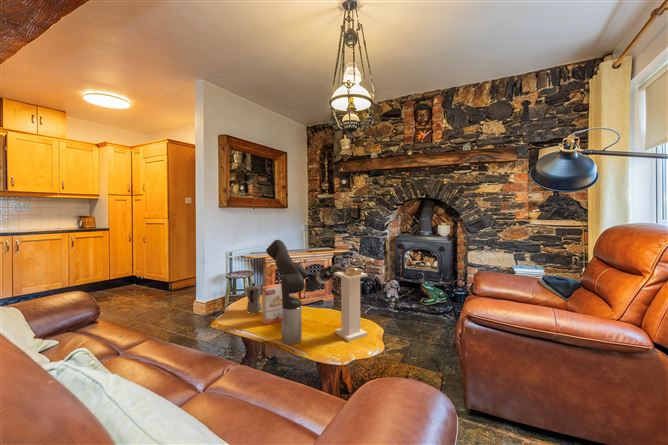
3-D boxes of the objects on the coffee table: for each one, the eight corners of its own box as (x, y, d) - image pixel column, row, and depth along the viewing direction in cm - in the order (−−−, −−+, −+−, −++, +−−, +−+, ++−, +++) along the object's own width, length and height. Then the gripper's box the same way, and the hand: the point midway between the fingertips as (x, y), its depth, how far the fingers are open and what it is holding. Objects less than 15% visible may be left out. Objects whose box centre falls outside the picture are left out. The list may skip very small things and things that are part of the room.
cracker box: (266, 325, 161) (265, 289, 159) (262, 322, 165) (261, 286, 164) (288, 319, 169) (288, 284, 167) (284, 316, 174) (283, 282, 172)
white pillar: (348, 341, 141) (348, 277, 139) (334, 332, 151) (334, 272, 149) (367, 335, 148) (367, 274, 146) (353, 327, 158) (352, 269, 156)
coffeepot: (248, 307, 188) (247, 280, 187) (263, 307, 189) (262, 280, 188) (243, 317, 173) (242, 287, 172) (259, 316, 174) (258, 287, 173)
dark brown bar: (353, 276, 141) (353, 270, 141) (330, 268, 158) (330, 263, 158) (361, 274, 144) (361, 268, 144) (338, 267, 161) (338, 261, 161)
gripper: (312, 271, 167) (324, 261, 154) (332, 267, 174) (346, 258, 162) (315, 283, 164) (328, 274, 152) (336, 279, 172) (350, 270, 159)
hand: (337, 266), depth 157 cm, fingers open, 8 cm apart
